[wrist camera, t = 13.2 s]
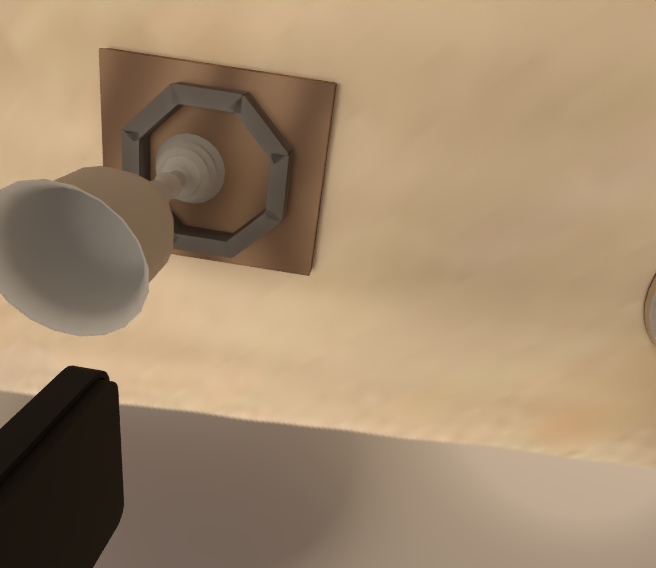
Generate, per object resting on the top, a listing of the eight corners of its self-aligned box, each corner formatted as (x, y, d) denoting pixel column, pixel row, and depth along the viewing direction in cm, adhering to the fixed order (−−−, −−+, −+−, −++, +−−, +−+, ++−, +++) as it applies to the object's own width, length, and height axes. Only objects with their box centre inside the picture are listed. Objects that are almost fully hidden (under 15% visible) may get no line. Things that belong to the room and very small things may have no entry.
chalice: (123, 175, 39) (-49, 271, 23) (170, 97, 37) (14, 141, 20) (208, 234, 40) (104, 364, 24) (258, 163, 38) (180, 253, 22)
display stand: (336, 82, 37) (332, 86, 34) (311, 268, 43) (306, 286, 39) (109, 48, 37) (83, 48, 34) (114, 237, 43) (93, 252, 40)
